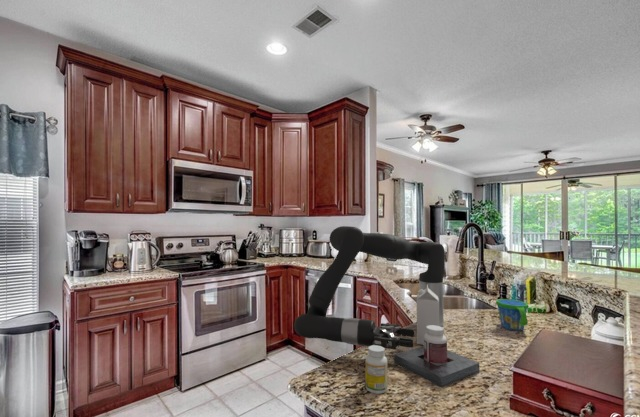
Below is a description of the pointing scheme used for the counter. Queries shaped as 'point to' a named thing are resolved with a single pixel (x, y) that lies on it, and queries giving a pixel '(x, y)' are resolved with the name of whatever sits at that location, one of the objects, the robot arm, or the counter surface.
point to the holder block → (440, 374)
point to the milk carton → (426, 312)
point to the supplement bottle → (376, 370)
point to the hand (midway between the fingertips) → (413, 338)
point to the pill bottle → (435, 345)
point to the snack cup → (512, 314)
